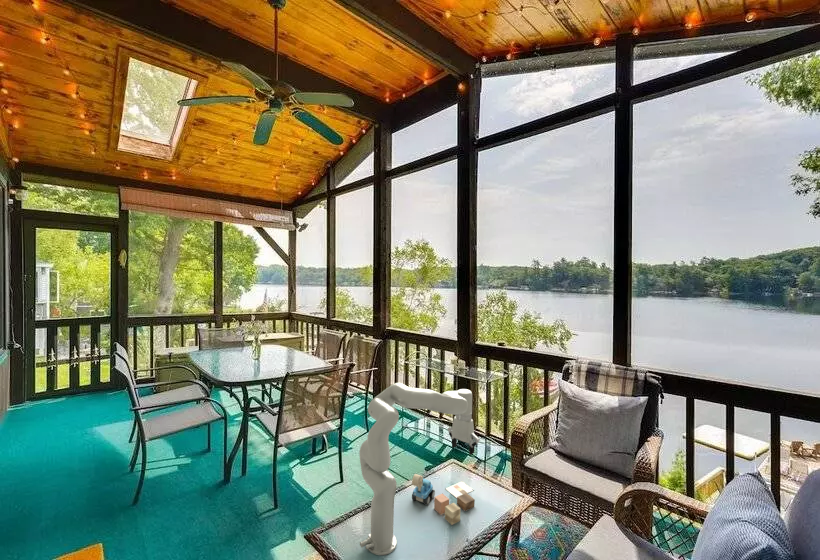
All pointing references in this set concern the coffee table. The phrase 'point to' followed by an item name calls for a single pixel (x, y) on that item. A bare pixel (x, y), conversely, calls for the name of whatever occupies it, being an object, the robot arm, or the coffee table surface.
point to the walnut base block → (465, 502)
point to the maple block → (452, 513)
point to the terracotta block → (440, 503)
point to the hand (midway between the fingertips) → (462, 450)
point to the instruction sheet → (459, 489)
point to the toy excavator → (422, 489)
